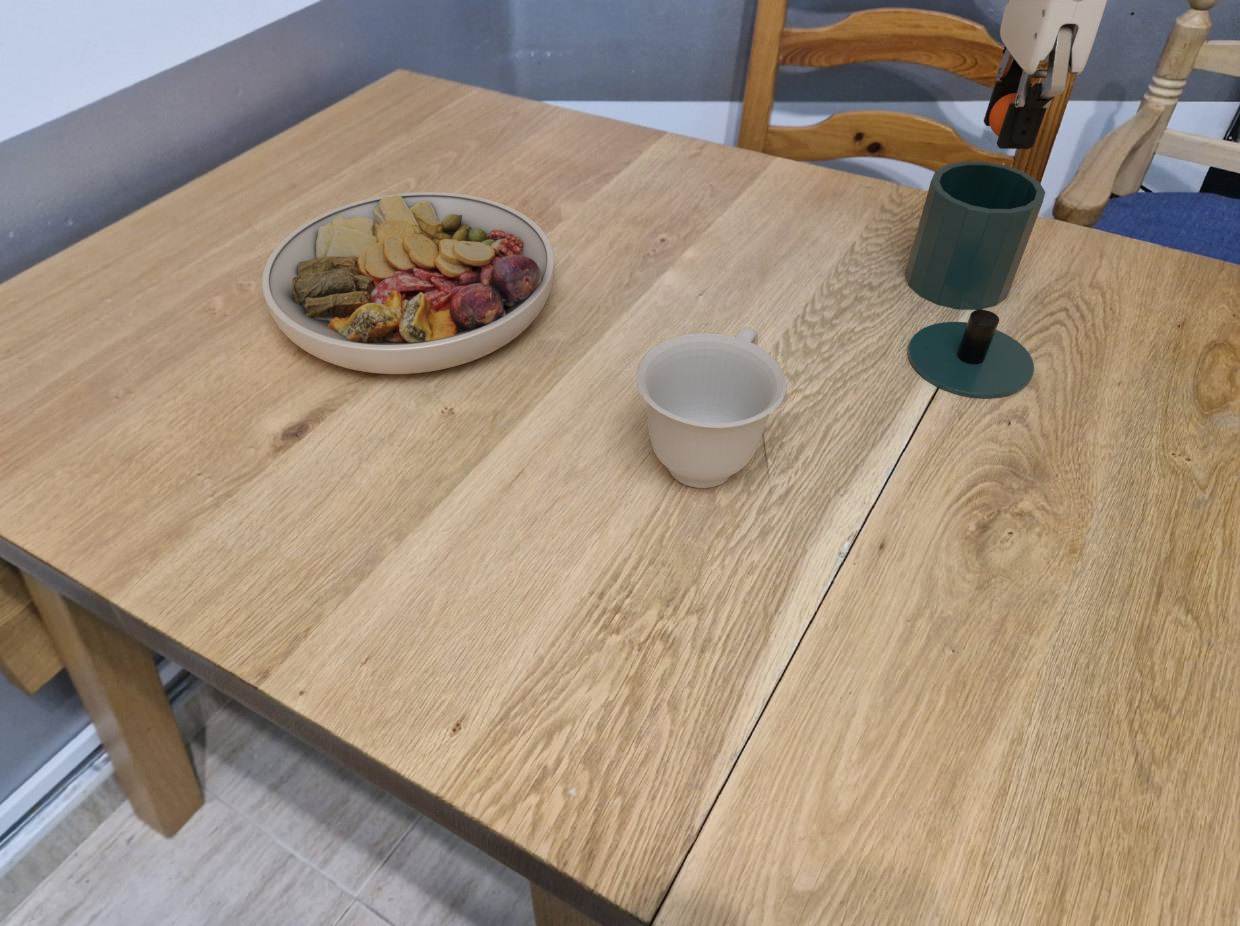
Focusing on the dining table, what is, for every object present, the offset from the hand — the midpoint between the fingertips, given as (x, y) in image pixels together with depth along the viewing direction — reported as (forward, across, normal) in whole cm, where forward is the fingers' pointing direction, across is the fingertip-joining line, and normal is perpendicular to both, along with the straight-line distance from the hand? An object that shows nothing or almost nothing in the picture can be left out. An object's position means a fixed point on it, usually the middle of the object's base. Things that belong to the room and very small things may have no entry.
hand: (1007, 134), depth 89 cm
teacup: (+17, -27, +28) cm, 43 cm away
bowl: (+18, -4, +58) cm, 61 cm away
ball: (-2, 0, 0) cm, 2 cm away
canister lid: (+16, -13, +2) cm, 21 cm away
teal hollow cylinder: (+17, +1, 0) cm, 17 cm away
